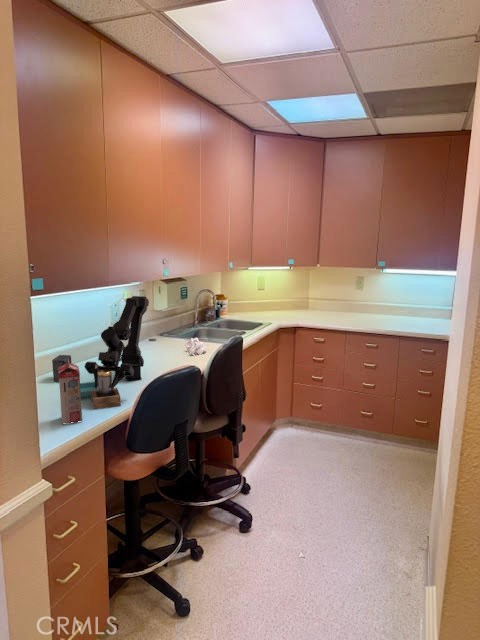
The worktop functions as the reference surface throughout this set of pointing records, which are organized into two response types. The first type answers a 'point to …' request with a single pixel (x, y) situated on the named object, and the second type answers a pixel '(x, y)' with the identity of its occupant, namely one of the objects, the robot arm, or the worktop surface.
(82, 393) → the teal tray
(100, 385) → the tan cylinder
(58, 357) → the box
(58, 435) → the worktop surface
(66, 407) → the juice carton
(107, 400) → the brown square frame
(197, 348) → the white coral
